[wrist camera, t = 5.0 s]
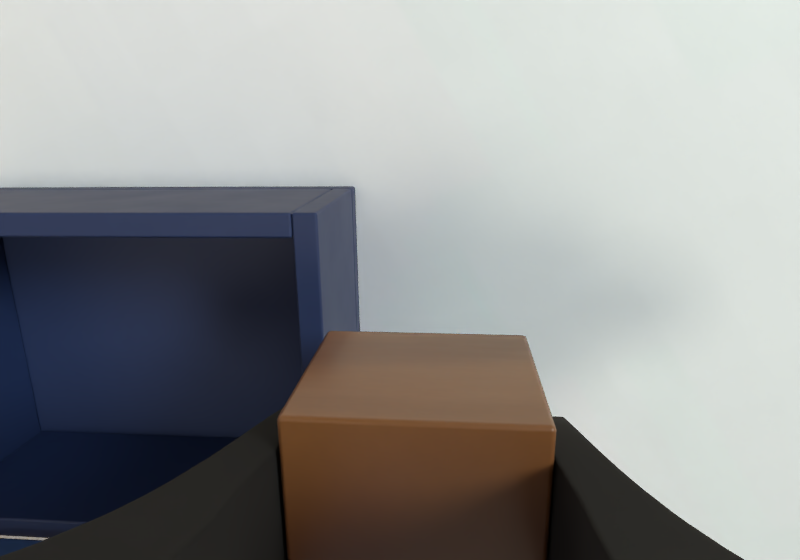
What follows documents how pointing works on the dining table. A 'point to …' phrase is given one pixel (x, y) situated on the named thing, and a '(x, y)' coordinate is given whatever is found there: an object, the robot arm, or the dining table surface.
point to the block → (417, 450)
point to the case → (154, 332)
